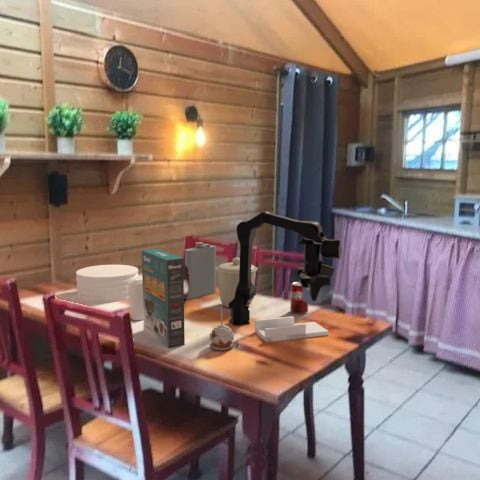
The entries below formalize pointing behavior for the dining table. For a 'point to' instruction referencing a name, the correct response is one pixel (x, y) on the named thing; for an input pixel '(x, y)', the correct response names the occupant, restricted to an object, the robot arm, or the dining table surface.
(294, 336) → the trap channel
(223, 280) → the canister
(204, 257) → the flask
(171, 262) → the cake mix box
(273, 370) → the dining table surface
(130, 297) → the white cylinder
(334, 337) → the dining table surface
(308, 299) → the blue-gray block
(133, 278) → the plate stack
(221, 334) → the decorative ornament
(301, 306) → the soda can
